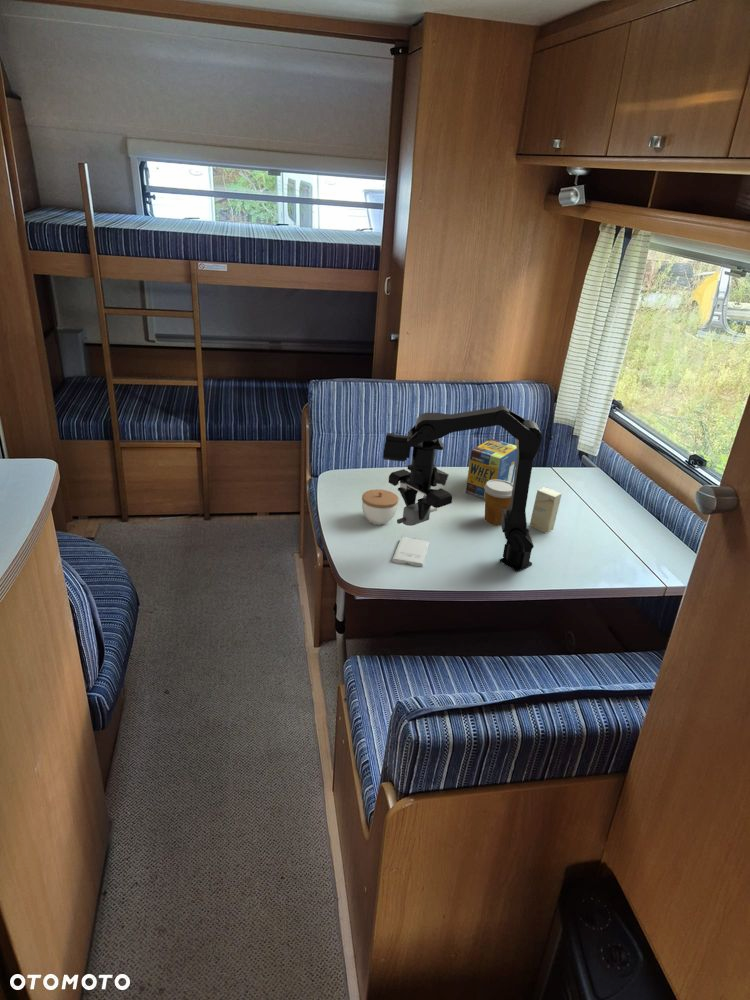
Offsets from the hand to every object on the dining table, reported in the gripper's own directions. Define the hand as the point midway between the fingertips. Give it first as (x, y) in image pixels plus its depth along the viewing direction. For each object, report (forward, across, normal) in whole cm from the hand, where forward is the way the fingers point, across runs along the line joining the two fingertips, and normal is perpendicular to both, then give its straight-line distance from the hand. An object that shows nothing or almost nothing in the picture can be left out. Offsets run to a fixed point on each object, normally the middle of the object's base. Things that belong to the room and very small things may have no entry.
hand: (416, 516), depth 174 cm
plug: (+1, 0, 0) cm, 1 cm away
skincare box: (+11, -11, -44) cm, 47 cm away
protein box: (+11, +16, -51) cm, 55 cm away
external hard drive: (+12, 0, 0) cm, 12 cm away
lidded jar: (+12, +20, -5) cm, 24 cm away
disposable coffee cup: (+11, 0, -35) cm, 37 cm away
